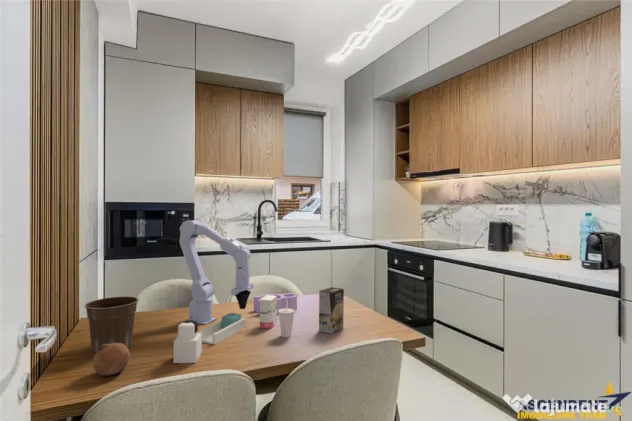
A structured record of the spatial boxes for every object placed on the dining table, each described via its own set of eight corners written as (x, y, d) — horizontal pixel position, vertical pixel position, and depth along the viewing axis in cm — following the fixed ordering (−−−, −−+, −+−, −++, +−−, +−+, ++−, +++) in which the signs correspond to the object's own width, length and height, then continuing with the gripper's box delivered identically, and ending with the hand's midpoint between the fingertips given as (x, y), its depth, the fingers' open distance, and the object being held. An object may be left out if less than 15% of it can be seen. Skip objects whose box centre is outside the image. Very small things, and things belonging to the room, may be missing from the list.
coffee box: (331, 334, 136) (332, 293, 135) (318, 330, 139) (318, 290, 139) (344, 327, 143) (344, 288, 143) (330, 324, 147) (331, 286, 147)
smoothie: (297, 333, 136) (297, 298, 136) (290, 339, 130) (290, 302, 130) (282, 331, 138) (282, 296, 138) (275, 337, 132) (275, 300, 132)
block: (230, 323, 145) (230, 312, 145) (240, 325, 143) (240, 314, 143) (221, 328, 139) (221, 316, 139) (232, 329, 138) (232, 318, 138)
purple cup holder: (291, 305, 176) (291, 291, 176) (300, 312, 165) (300, 297, 165) (252, 309, 169) (252, 295, 168) (258, 317, 157) (258, 301, 157)
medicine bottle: (179, 354, 116) (179, 318, 116) (201, 353, 117) (201, 318, 117) (172, 364, 109) (173, 325, 109) (196, 363, 110) (196, 325, 110)
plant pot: (104, 338, 130) (104, 295, 130) (147, 339, 130) (147, 296, 130) (73, 357, 114) (72, 307, 114) (121, 357, 114) (121, 308, 114)
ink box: (270, 329, 141) (270, 300, 141) (259, 328, 142) (259, 299, 142) (277, 322, 149) (277, 295, 149) (266, 321, 150) (266, 294, 150)
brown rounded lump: (96, 387, 101) (78, 359, 99) (119, 364, 110) (102, 338, 108) (121, 380, 98) (103, 351, 96) (142, 357, 107) (126, 330, 105)
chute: (228, 324, 146) (228, 316, 146) (245, 326, 144) (245, 318, 144) (197, 341, 128) (197, 331, 128) (215, 344, 125) (215, 334, 125)
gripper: (241, 280, 140) (241, 314, 141) (259, 274, 154) (259, 305, 154) (226, 279, 143) (226, 312, 143) (245, 273, 157) (245, 303, 157)
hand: (242, 308), depth 149 cm, fingers closed
